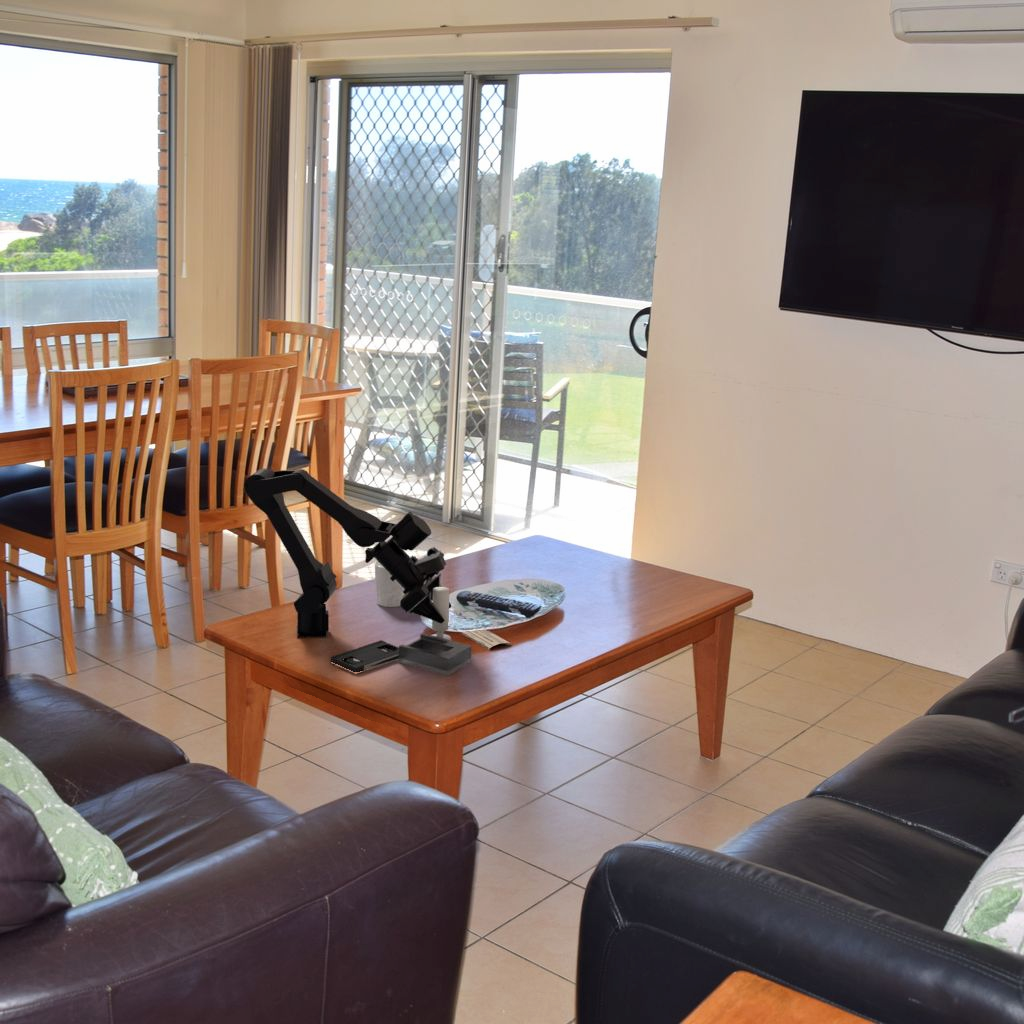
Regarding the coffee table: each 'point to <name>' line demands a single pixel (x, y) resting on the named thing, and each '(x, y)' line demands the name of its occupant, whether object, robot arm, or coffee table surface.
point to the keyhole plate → (435, 654)
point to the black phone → (367, 656)
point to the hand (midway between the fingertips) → (446, 614)
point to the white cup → (387, 588)
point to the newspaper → (485, 638)
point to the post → (441, 611)
